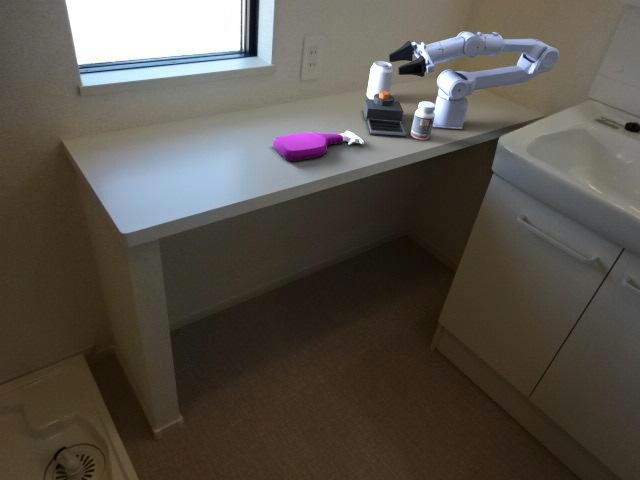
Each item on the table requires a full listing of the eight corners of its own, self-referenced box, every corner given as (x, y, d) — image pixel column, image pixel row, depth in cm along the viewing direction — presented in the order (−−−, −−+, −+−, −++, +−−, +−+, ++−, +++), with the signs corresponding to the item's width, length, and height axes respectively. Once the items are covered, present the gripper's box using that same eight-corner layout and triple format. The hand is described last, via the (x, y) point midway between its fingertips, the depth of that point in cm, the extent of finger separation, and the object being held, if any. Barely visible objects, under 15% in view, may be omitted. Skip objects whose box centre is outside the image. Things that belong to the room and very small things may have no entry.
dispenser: (396, 112, 158) (399, 94, 154) (400, 124, 150) (404, 105, 147) (362, 110, 157) (365, 91, 153) (365, 121, 149) (368, 102, 146)
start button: (388, 96, 153) (389, 91, 152) (389, 100, 150) (390, 94, 149) (378, 95, 152) (379, 90, 151) (379, 99, 150) (380, 94, 149)
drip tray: (400, 125, 150) (401, 121, 149) (405, 137, 143) (406, 133, 142) (367, 122, 149) (367, 118, 148) (370, 135, 142) (371, 130, 141)
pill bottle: (430, 141, 142) (438, 109, 136) (411, 139, 142) (419, 107, 136) (427, 133, 147) (435, 101, 141) (409, 131, 146) (416, 99, 141)
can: (380, 104, 162) (386, 68, 154) (362, 98, 165) (367, 62, 158) (391, 99, 167) (398, 64, 159) (373, 93, 170) (379, 58, 163)
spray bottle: (270, 146, 130) (345, 133, 142) (289, 164, 123) (366, 149, 135) (270, 135, 128) (346, 124, 140) (290, 153, 121) (368, 139, 133)
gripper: (429, 27, 141) (384, 39, 140) (450, 51, 131) (402, 63, 131) (428, 50, 146) (385, 62, 145) (448, 74, 137) (402, 86, 136)
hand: (393, 64), depth 138 cm, fingers open, 7 cm apart
